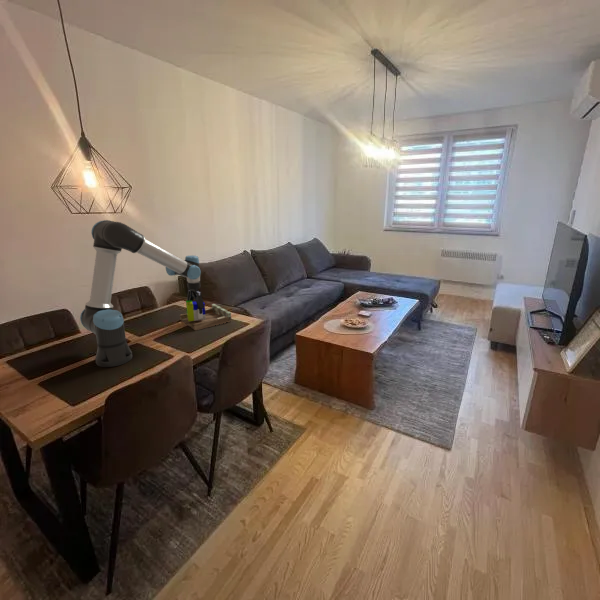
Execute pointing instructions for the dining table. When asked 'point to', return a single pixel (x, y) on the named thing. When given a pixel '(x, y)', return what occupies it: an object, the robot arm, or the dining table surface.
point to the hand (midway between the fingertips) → (196, 315)
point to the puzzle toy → (194, 310)
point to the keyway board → (209, 318)
